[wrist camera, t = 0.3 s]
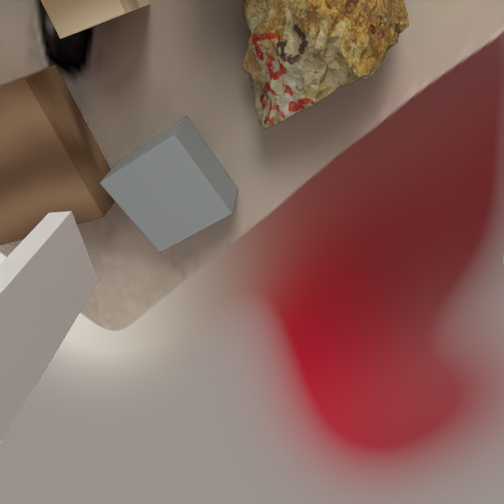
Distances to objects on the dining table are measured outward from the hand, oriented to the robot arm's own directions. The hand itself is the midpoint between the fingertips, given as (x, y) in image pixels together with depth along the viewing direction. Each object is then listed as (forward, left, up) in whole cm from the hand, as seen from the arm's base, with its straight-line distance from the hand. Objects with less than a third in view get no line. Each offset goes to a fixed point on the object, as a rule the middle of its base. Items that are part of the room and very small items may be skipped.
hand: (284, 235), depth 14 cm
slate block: (+6, -13, -27) cm, 30 cm away
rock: (-2, +1, -27) cm, 27 cm away
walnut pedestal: (0, -25, -26) cm, 36 cm away
